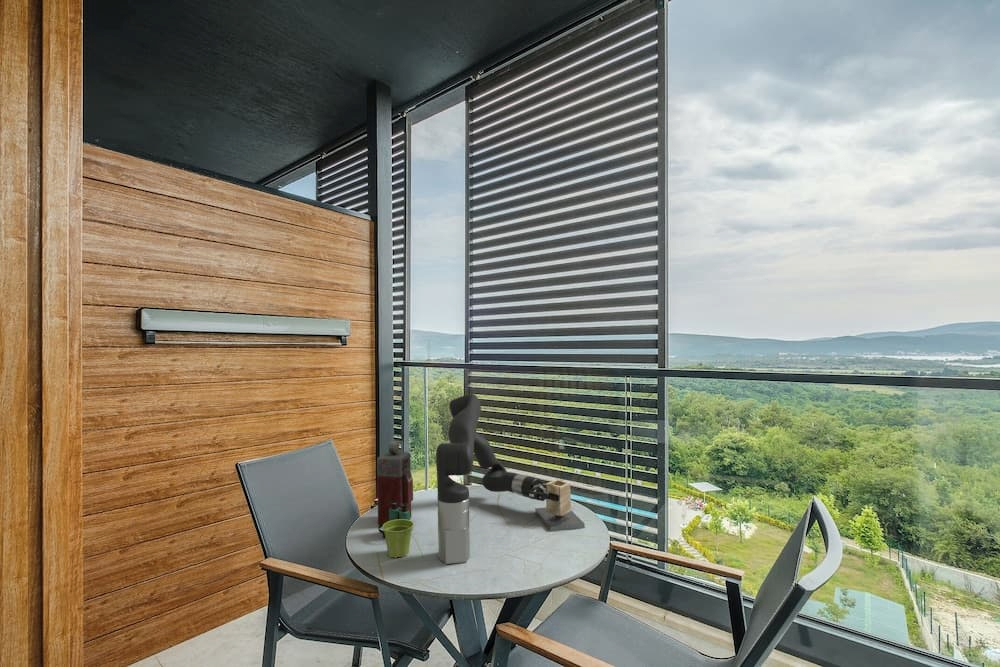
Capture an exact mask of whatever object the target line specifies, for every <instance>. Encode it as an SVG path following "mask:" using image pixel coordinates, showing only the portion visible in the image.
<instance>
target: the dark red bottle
mask: <svg viewBox="0 0 1000 667" xmlns="http://www.w3.org/2000/svg"><path fill="white" fill-rule="evenodd" d="M388 444H389V445H388V451H387V452H385V453H383V454H382V455H380V456H378V457H377V459H376V471H377V472H376V473H377V474H376V475H377V476H376V478H377V479H376V480H377V481H376V482H377V525H378V526H379V525H381V524H383V523H385V522H386V520H389V509H390V508H392V506H391V502H392V501H396V502H397V507H399V508H401V505H403V504H407V510H409V513H410V519H411V518H412V502H413V501H414V478H413V476H412V471H411V470H412V469H411V468H412V467H411V466H412V465H411V452H408V451H407V452H405V451H403V452H402V451H399V450H400V444H399V441H394V440H392V441H390V442H389V443H388ZM387 522H388V521H387Z"/></svg>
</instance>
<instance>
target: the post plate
mask: <svg viewBox="0 0 1000 667" xmlns="http://www.w3.org/2000/svg"><path fill="white" fill-rule="evenodd" d="M534 510H535V514H536V515H537V517H538V516H539V518H538V519H539V520H541V522H542V523H543V524H544V525H545V527H546V528H547V530H549V532H556V531H557V532H558V531H568V530H569V531H570V530H577V529H585V527H586V526H585V522H584V521H582V520H581V518H580V517H579V516H578V515H577V514H576V513H574V511H573V510H571V512H569V513H566V514H564V515H562V516H558V515H555V514H551V513H548V512H547V511H546V506H545V507H537V508H534Z"/></svg>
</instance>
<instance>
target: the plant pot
mask: <svg viewBox="0 0 1000 667" xmlns="http://www.w3.org/2000/svg"><path fill="white" fill-rule="evenodd" d="M414 525H415V523H414V522H413V521H412V520H411V519H410V520H407V519H396V520H391V521H388V522H386V523H384V524H383V526H382V527H381V530H383V531H384V533H385V537H386V538H385V543H386V549H387V555H388V557H390V558H393V557H394V558H393V559H398V558H400V557H401V558H404V557H406V556H407V554H409V553H410V547H411V546H410V545H411V538H412V537H411V536H412V531H413V528H414V527H415V526H414ZM403 556H404V557H403ZM397 557H398V558H397Z"/></svg>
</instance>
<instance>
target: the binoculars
mask: <svg viewBox="0 0 1000 667" xmlns="http://www.w3.org/2000/svg"><path fill="white" fill-rule="evenodd" d="M391 506H392V508H390V509H389V520H386V522H387V521H391V520H396V519H407V520H411V518H410V513H409V510H407V504H403V505H401V508H399V507H397V502H396V501H392V502H391ZM386 522H385V523H386ZM383 524H384V523H383ZM383 524H381V525H378V527H377V529H378V532H379V533H380V534H382V536H381V537H382V538H383V539H386V537H385V533H384V530H383V529H382V526H383Z"/></svg>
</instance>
